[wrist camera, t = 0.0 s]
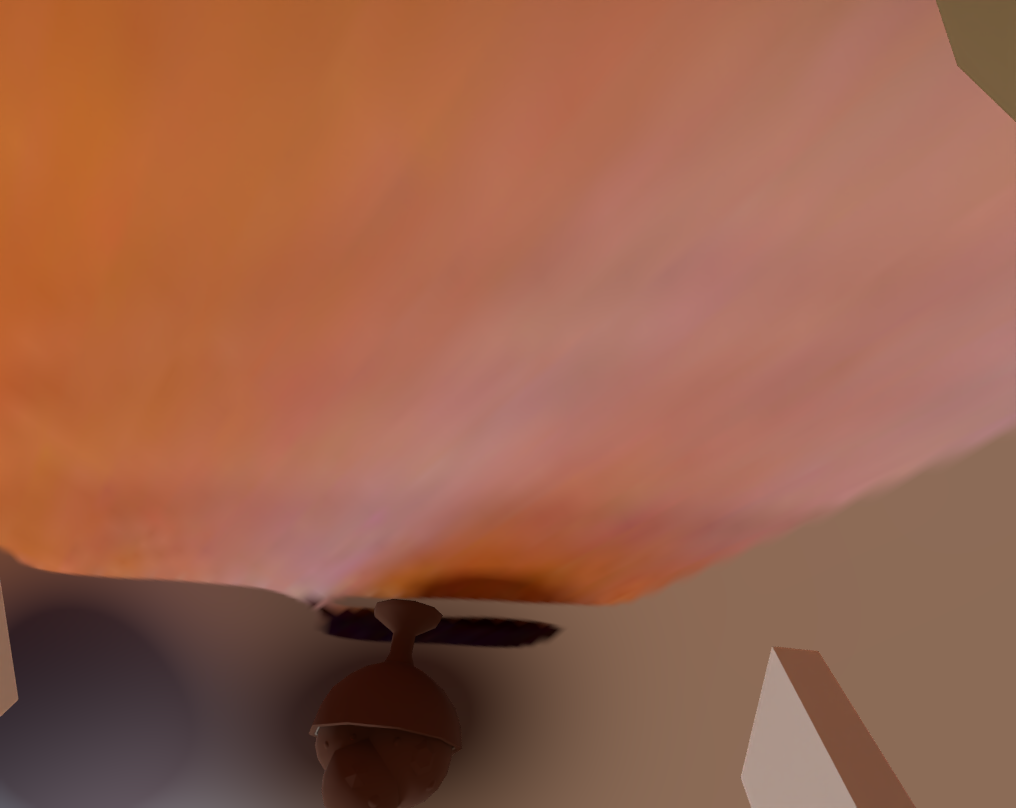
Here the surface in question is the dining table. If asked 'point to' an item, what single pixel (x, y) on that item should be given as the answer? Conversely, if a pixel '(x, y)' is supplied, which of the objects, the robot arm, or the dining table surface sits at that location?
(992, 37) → the squeeze bottle
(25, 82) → the dining table surface
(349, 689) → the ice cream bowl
